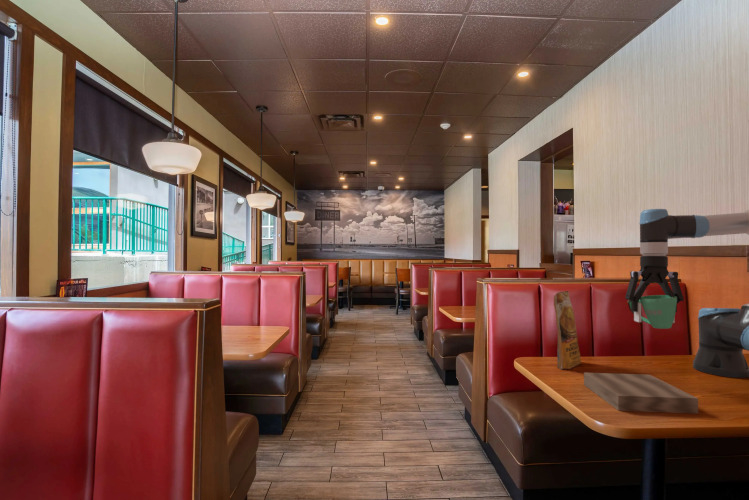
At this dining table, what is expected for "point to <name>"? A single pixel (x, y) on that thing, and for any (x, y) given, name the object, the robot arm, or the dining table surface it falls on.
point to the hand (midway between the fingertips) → (654, 321)
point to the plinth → (640, 393)
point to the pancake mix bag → (566, 332)
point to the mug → (658, 310)
